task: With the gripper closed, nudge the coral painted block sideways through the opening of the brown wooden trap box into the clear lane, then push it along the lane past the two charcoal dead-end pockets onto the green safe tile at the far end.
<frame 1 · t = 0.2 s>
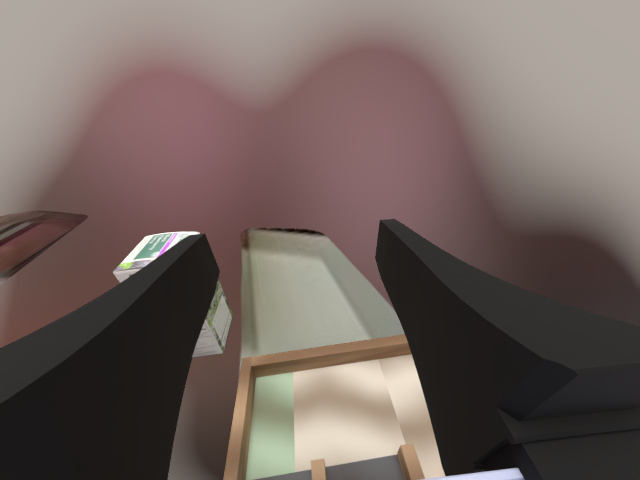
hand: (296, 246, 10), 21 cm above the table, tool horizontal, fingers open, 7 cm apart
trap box: (388, 450, 20), on the table
syrup box: (208, 337, 31), on the table
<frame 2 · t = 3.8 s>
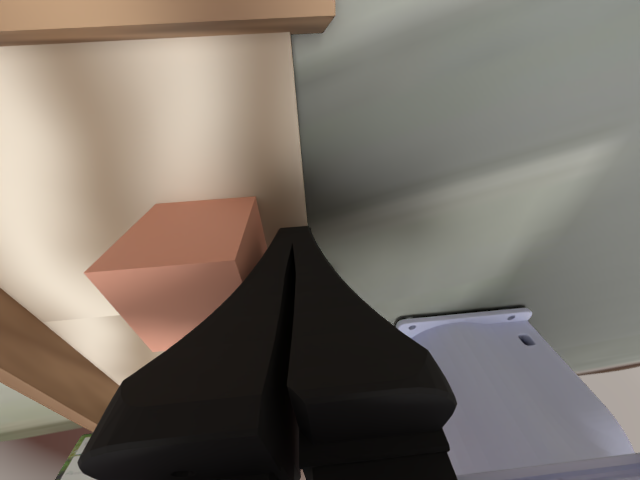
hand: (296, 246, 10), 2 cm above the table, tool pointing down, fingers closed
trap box: (194, 316, 15), on the table
syrup box: (126, 435, 26), on the table
coral block: (220, 239, 11), point 1 cm above the table, touching gripper, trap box
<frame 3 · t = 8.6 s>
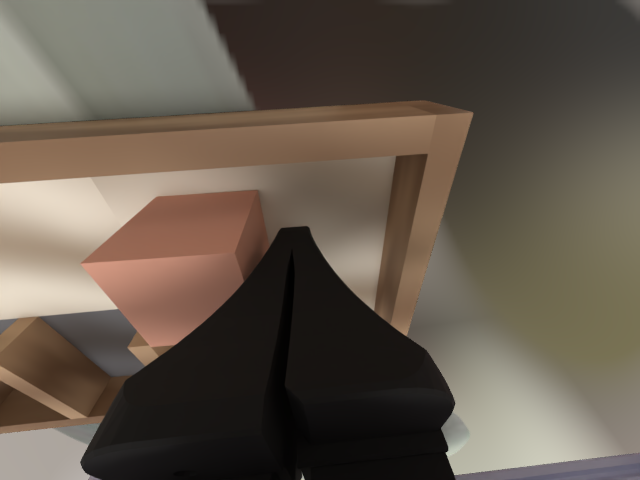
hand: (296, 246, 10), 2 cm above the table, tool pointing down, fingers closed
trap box: (144, 292, 13), on the table
coral block: (221, 234, 11), point 1 cm above the table, touching gripper, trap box
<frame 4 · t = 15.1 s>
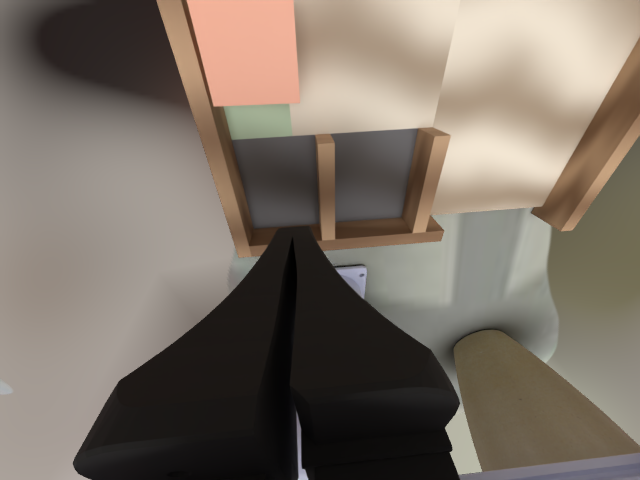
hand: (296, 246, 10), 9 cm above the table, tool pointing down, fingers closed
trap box: (408, 118, 16), on the table
plant pot: (476, 342, 35), on the table
coral block: (260, 54, 13), point 1 cm above the table, touching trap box
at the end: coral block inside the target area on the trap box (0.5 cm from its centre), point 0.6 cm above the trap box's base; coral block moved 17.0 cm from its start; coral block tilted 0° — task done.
